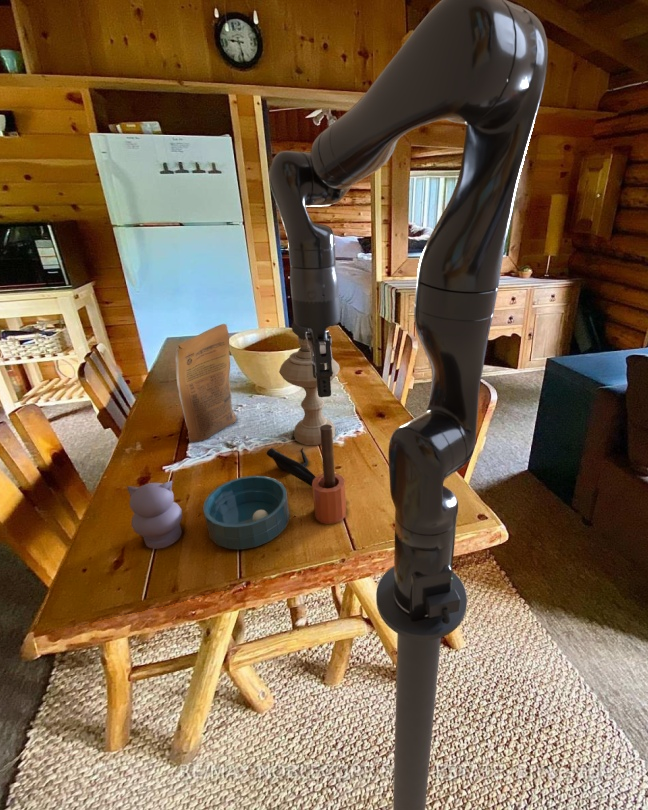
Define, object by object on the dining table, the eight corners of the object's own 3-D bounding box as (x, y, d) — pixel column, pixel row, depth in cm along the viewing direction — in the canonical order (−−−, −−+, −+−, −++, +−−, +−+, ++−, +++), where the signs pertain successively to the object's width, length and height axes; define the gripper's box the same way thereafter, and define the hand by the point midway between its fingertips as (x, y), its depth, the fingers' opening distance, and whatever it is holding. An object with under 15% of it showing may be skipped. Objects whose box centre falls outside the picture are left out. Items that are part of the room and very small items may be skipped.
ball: (259, 515, 84) (248, 524, 85) (271, 522, 86) (261, 530, 86) (260, 504, 87) (250, 512, 87) (272, 511, 88) (262, 519, 89)
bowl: (291, 543, 83) (288, 518, 80) (204, 558, 80) (198, 533, 77) (287, 493, 96) (285, 471, 94) (213, 504, 93) (208, 481, 90)
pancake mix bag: (250, 417, 127) (236, 323, 115) (198, 449, 112) (175, 344, 99) (232, 412, 130) (216, 319, 117) (179, 442, 115) (154, 339, 102)
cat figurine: (132, 555, 80) (114, 503, 74) (144, 526, 87) (128, 476, 81) (183, 548, 82) (169, 496, 76) (190, 519, 89) (178, 470, 83)
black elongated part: (364, 465, 95) (288, 423, 107) (336, 494, 90) (260, 446, 103) (370, 488, 100) (297, 445, 113) (344, 516, 95) (271, 468, 108)
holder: (348, 521, 89) (347, 489, 85) (316, 526, 87) (313, 494, 84) (343, 501, 94) (342, 470, 91) (313, 506, 93) (310, 475, 89)
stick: (337, 514, 90) (332, 429, 81) (326, 515, 90) (320, 430, 81) (336, 507, 92) (331, 423, 83) (325, 508, 91) (319, 425, 82)
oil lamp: (354, 434, 120) (349, 285, 102) (309, 456, 110) (295, 295, 92) (319, 416, 129) (309, 276, 111) (275, 434, 119) (256, 284, 101)
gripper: (345, 303, 66) (349, 401, 73) (332, 284, 78) (337, 369, 85) (294, 306, 64) (303, 406, 71) (289, 286, 76) (297, 373, 83)
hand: (321, 386), depth 78 cm, fingers open, 8 cm apart
